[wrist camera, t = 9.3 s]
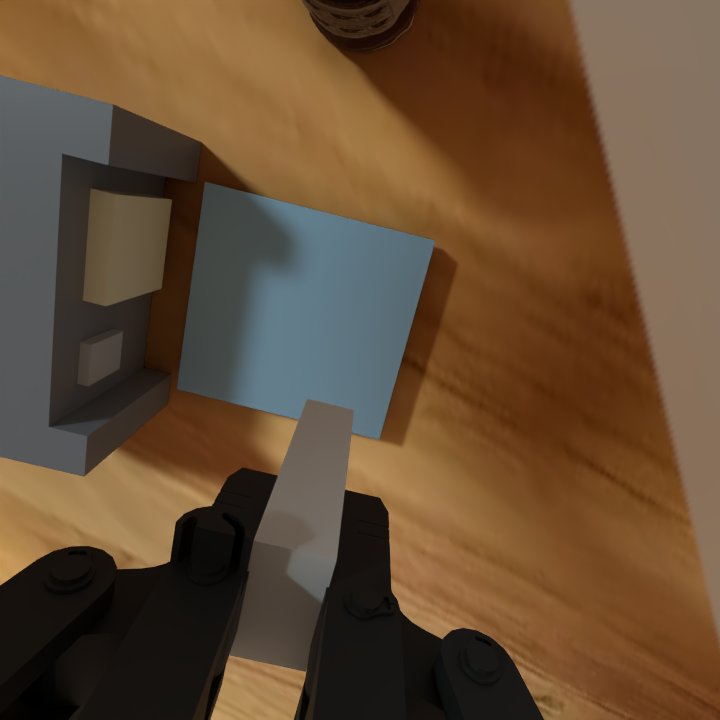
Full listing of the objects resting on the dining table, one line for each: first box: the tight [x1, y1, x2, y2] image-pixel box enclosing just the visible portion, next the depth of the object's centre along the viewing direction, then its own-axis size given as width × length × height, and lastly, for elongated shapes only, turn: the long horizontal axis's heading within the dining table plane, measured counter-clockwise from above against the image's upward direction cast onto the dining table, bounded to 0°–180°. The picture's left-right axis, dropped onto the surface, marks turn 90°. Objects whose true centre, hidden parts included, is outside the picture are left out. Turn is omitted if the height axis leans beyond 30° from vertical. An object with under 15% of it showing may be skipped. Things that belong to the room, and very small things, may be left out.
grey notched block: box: [0, 75, 202, 476], centre depth 26 cm, size 19×11×11 cm, turn 166°
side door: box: [177, 182, 435, 440], centre depth 31 cm, size 14×2×14 cm
